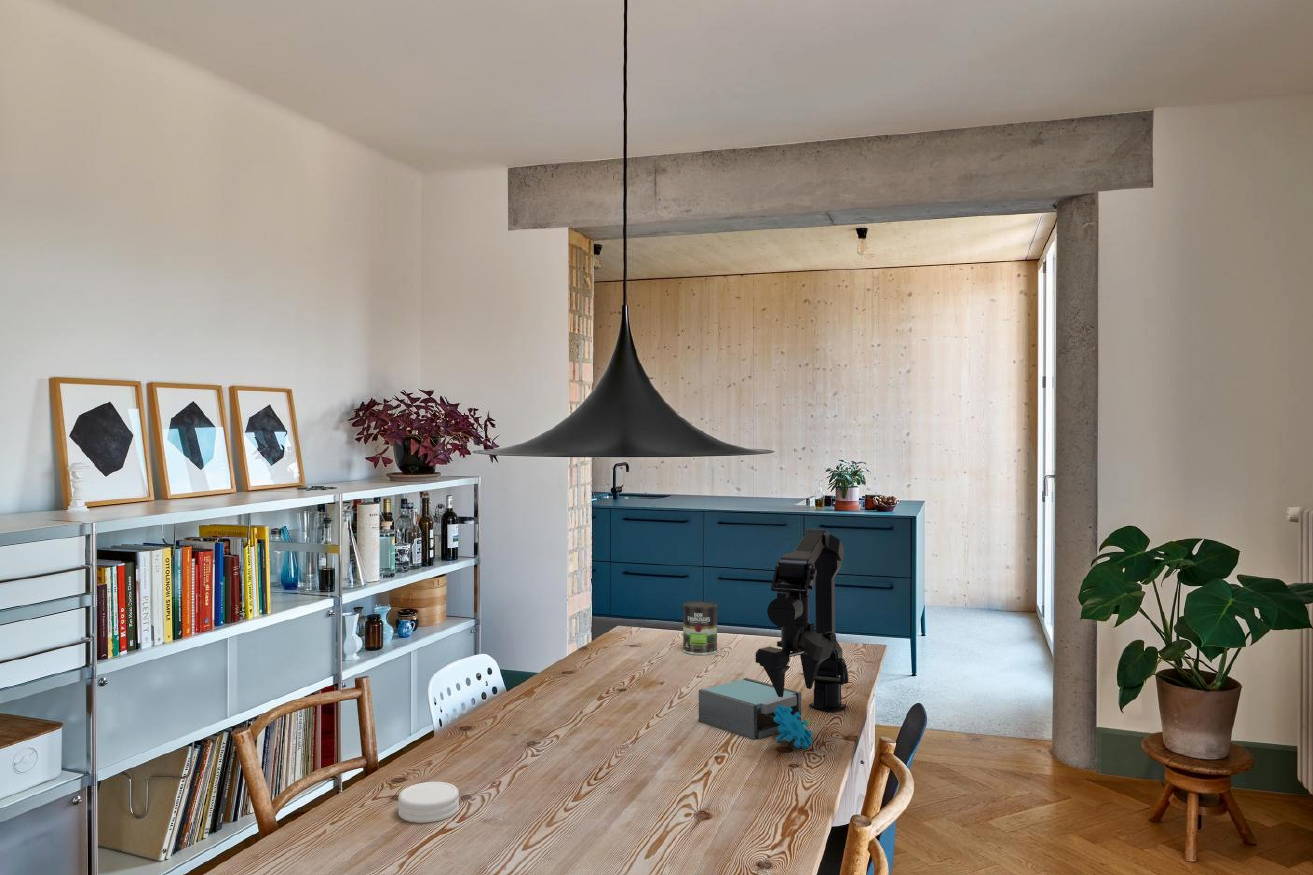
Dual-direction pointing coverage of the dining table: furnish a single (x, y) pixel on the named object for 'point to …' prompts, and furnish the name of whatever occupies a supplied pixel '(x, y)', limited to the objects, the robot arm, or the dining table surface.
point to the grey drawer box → (737, 713)
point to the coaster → (428, 802)
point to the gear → (792, 727)
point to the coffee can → (700, 627)
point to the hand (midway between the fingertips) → (794, 692)
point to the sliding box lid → (755, 695)
